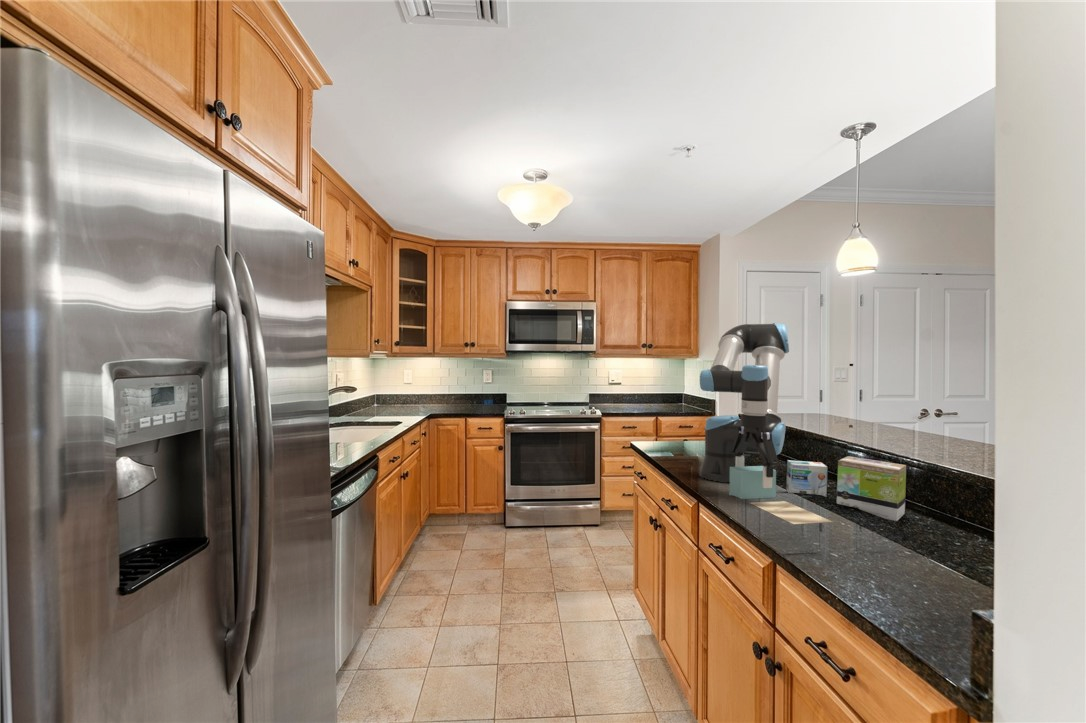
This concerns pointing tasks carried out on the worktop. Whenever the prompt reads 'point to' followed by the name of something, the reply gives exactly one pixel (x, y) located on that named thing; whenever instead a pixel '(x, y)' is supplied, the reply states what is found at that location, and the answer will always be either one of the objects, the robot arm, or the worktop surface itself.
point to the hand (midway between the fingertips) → (752, 481)
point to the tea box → (872, 486)
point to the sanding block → (750, 483)
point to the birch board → (790, 512)
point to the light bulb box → (806, 477)
